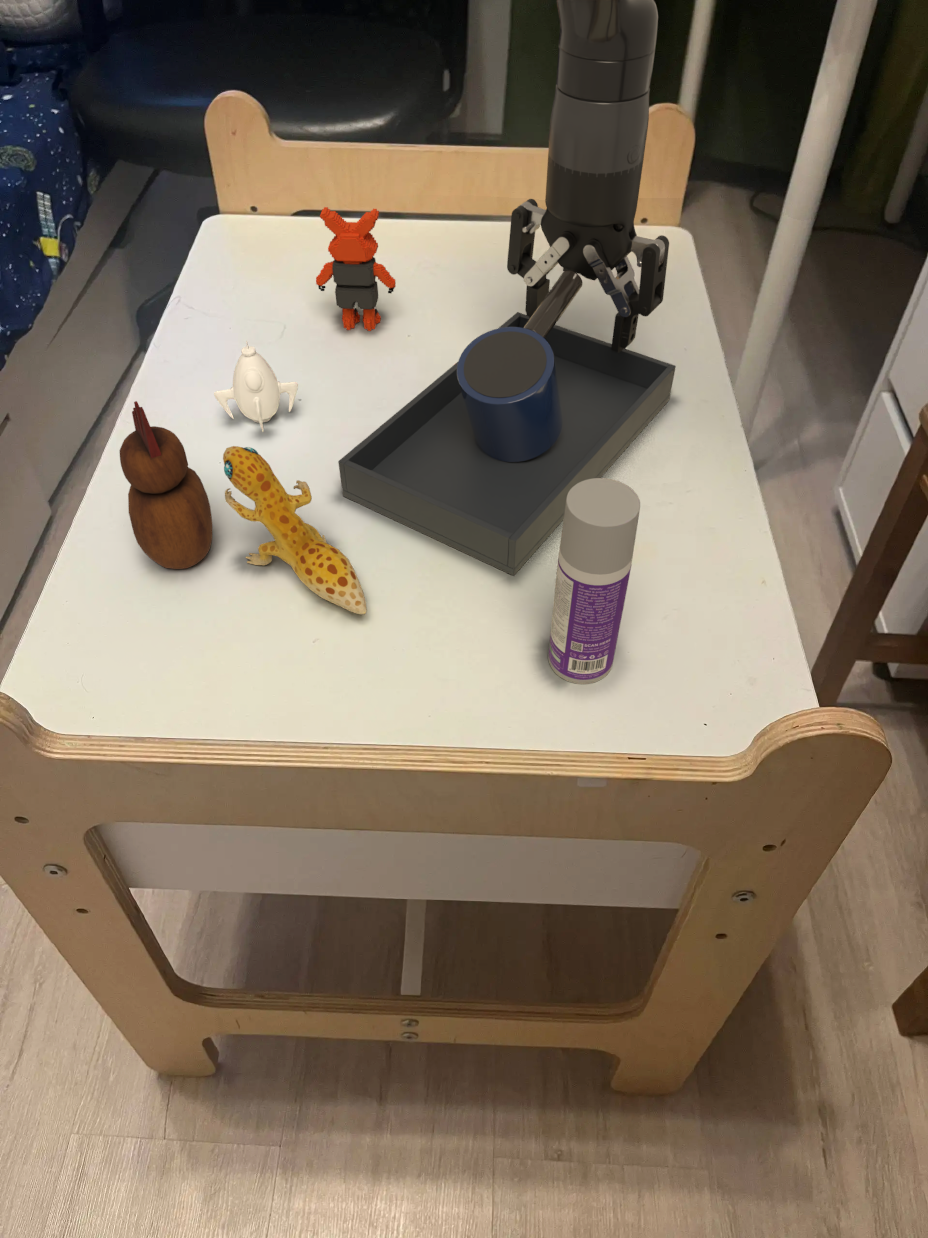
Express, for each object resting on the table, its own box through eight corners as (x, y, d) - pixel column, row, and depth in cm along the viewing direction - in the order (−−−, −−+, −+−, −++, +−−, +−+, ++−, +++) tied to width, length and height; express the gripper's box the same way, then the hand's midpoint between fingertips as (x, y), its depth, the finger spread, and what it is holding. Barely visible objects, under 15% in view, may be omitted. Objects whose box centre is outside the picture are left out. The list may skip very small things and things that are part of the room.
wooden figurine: (219, 577, 72) (173, 418, 60) (144, 585, 71) (83, 427, 60) (220, 519, 76) (177, 362, 65) (149, 527, 75) (94, 369, 64)
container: (623, 650, 66) (655, 493, 55) (594, 694, 64) (621, 538, 53) (567, 625, 68) (586, 466, 57) (536, 666, 66) (550, 509, 54)
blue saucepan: (541, 323, 86) (531, 256, 79) (617, 349, 83) (613, 282, 76) (456, 443, 81) (437, 383, 74) (533, 475, 79) (521, 416, 71)
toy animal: (402, 306, 99) (395, 193, 90) (396, 333, 95) (388, 219, 86) (329, 303, 99) (315, 191, 90) (320, 330, 95) (305, 216, 86)
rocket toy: (264, 442, 83) (248, 366, 77) (220, 422, 85) (201, 347, 79) (303, 411, 86) (290, 336, 80) (259, 393, 88) (244, 318, 82)
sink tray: (669, 400, 87) (676, 365, 84) (513, 576, 72) (515, 541, 69) (516, 345, 93) (517, 311, 91) (342, 496, 78) (337, 461, 75)
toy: (268, 473, 75) (257, 410, 66) (401, 600, 73) (409, 554, 64) (207, 524, 73) (187, 467, 64) (342, 655, 71) (341, 616, 62)
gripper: (700, 152, 71) (666, 338, 83) (542, 114, 76) (532, 294, 89) (657, 187, 67) (628, 378, 79) (494, 144, 72) (490, 329, 84)
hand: (577, 333), depth 84 cm, fingers open, 8 cm apart
